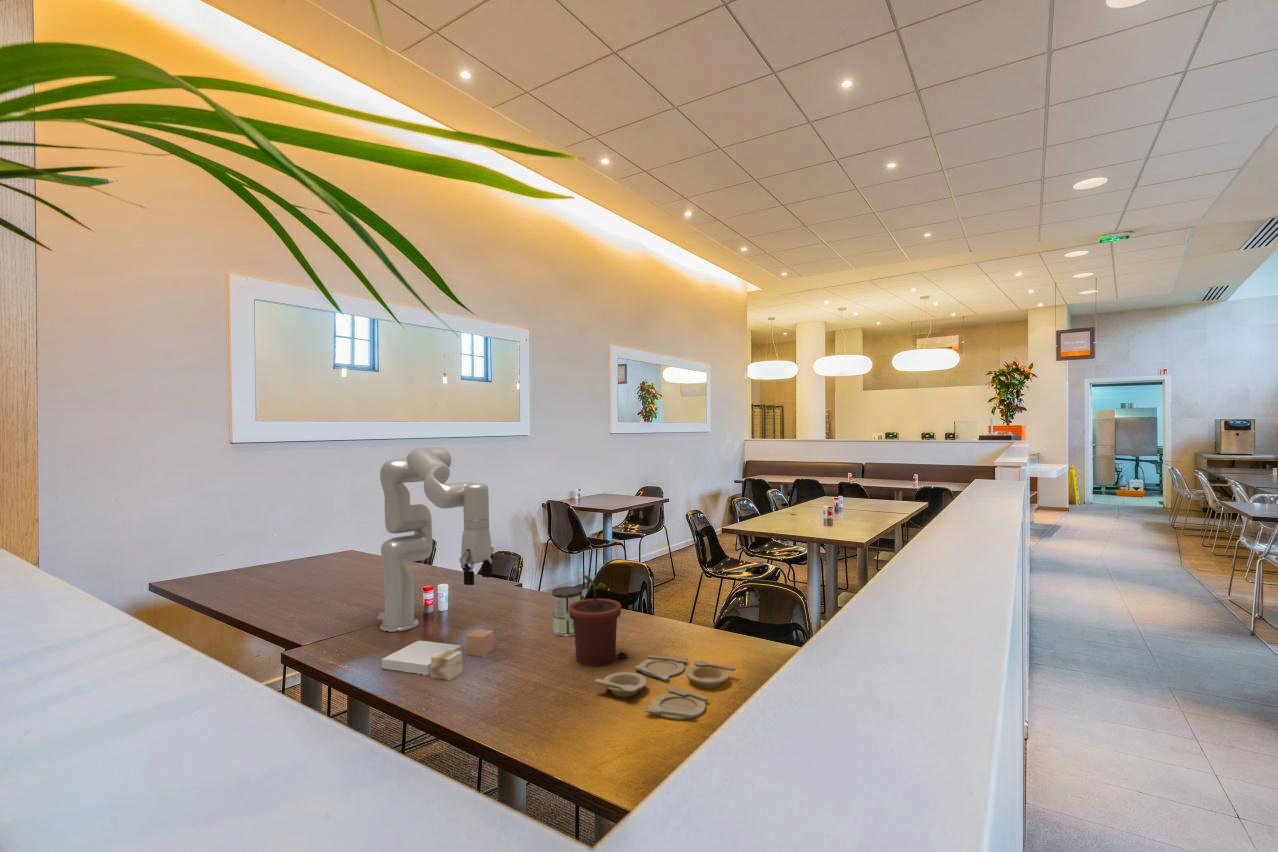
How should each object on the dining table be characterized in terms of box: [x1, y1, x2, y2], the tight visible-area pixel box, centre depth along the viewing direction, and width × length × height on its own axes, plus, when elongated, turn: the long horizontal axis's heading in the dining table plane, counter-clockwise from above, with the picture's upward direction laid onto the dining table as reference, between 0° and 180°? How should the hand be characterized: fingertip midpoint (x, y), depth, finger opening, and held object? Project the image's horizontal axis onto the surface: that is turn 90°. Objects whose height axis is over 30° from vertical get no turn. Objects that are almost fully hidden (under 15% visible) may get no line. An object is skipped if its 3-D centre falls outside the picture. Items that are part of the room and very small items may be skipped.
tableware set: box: [594, 654, 736, 720], centre depth 160 cm, size 35×29×4 cm
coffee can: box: [551, 586, 583, 637], centre depth 206 cm, size 10×10×14 cm
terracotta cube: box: [465, 628, 495, 657], centre depth 188 cm, size 6×6×6 cm
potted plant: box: [569, 574, 629, 668], centre depth 184 cm, size 18×22×25 cm
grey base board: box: [381, 640, 463, 676], centre depth 180 cm, size 16×16×3 cm
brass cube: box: [430, 650, 463, 681], centre depth 170 cm, size 6×6×6 cm
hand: (478, 580), depth 183 cm, fingers open, 9 cm apart
